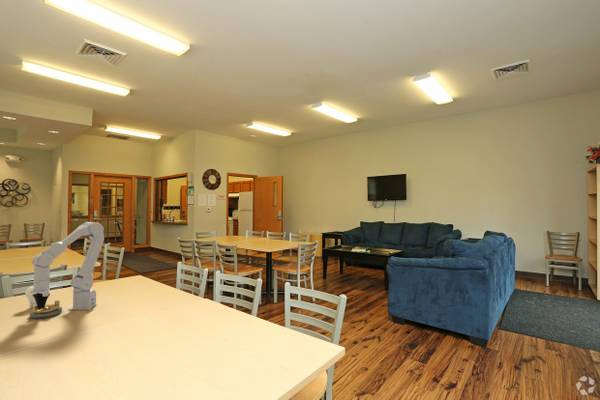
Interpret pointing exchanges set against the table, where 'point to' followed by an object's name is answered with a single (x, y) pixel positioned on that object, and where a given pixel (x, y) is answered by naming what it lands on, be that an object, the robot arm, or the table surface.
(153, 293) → the table surface
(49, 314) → the cap base
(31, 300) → the lightbulb
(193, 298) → the table surface
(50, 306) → the brass lugged disc
